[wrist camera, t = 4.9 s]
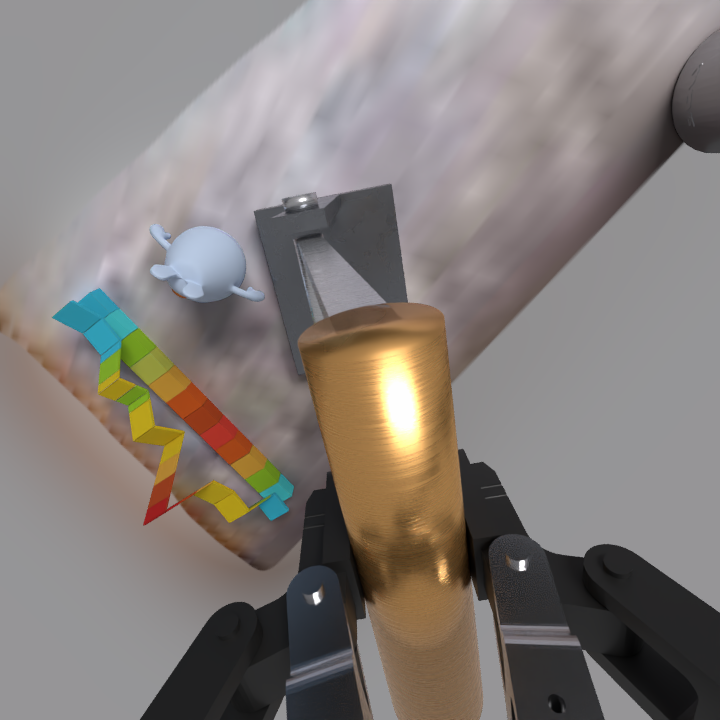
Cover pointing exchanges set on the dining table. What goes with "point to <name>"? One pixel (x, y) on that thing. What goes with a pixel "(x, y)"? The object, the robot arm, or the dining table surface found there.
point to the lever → (395, 479)
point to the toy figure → (203, 264)
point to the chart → (183, 398)
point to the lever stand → (345, 234)
